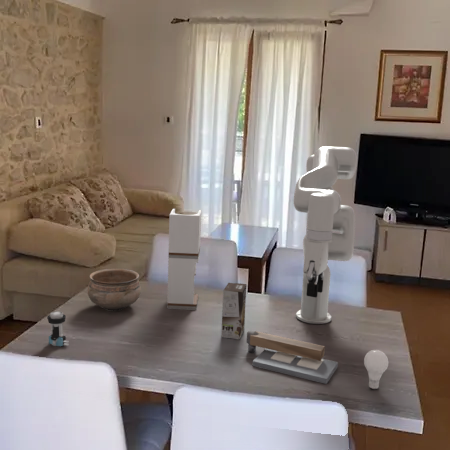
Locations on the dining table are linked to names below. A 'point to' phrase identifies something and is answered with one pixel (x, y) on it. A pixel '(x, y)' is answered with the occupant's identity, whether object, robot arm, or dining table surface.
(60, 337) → the push button
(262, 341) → the swing bar
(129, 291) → the cooking pot
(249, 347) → the swing post
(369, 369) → the lightbulb
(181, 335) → the dining table surface
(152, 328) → the dining table surface
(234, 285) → the coffee box
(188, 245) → the white wood-banded pillar
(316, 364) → the label board
